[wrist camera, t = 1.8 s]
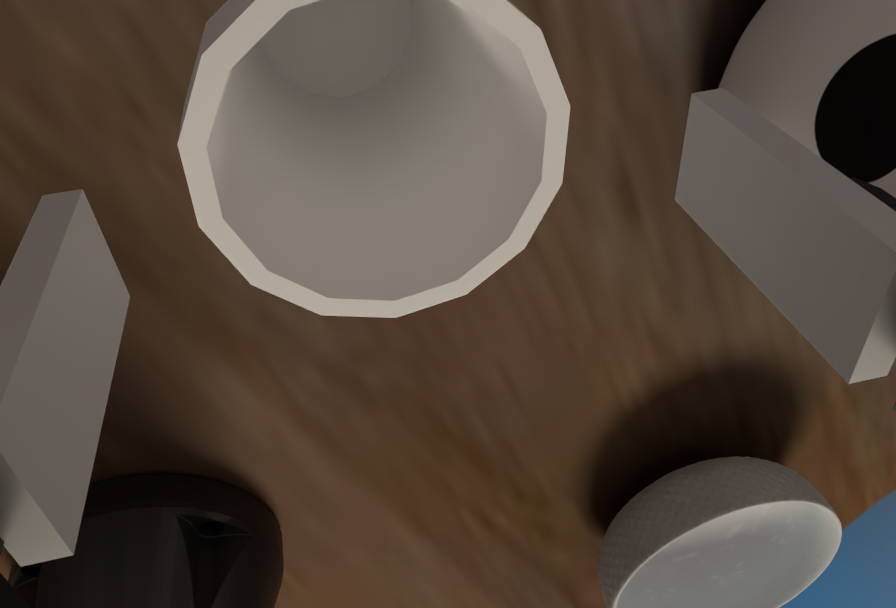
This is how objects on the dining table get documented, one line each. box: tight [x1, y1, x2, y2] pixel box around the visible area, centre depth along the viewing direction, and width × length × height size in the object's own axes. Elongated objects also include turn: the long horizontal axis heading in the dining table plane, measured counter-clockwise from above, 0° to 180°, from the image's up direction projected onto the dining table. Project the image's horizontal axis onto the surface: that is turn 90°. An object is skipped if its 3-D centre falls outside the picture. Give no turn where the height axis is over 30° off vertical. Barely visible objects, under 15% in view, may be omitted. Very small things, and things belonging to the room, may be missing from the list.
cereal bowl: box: [598, 456, 842, 608], centre depth 51 cm, size 17×17×7 cm
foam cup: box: [178, 0, 570, 318], centre depth 22 cm, size 10×9×13 cm
